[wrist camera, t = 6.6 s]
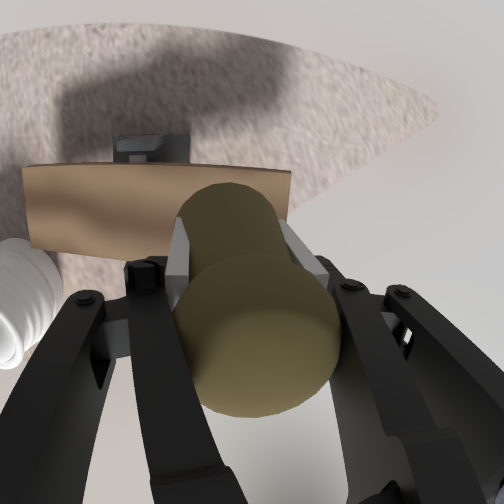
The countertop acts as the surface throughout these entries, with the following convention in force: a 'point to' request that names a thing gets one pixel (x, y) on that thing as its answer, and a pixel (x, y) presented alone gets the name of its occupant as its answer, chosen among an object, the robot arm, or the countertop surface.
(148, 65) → the countertop surface
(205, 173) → the seesaw plank
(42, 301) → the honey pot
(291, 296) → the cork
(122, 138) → the seesaw stand
